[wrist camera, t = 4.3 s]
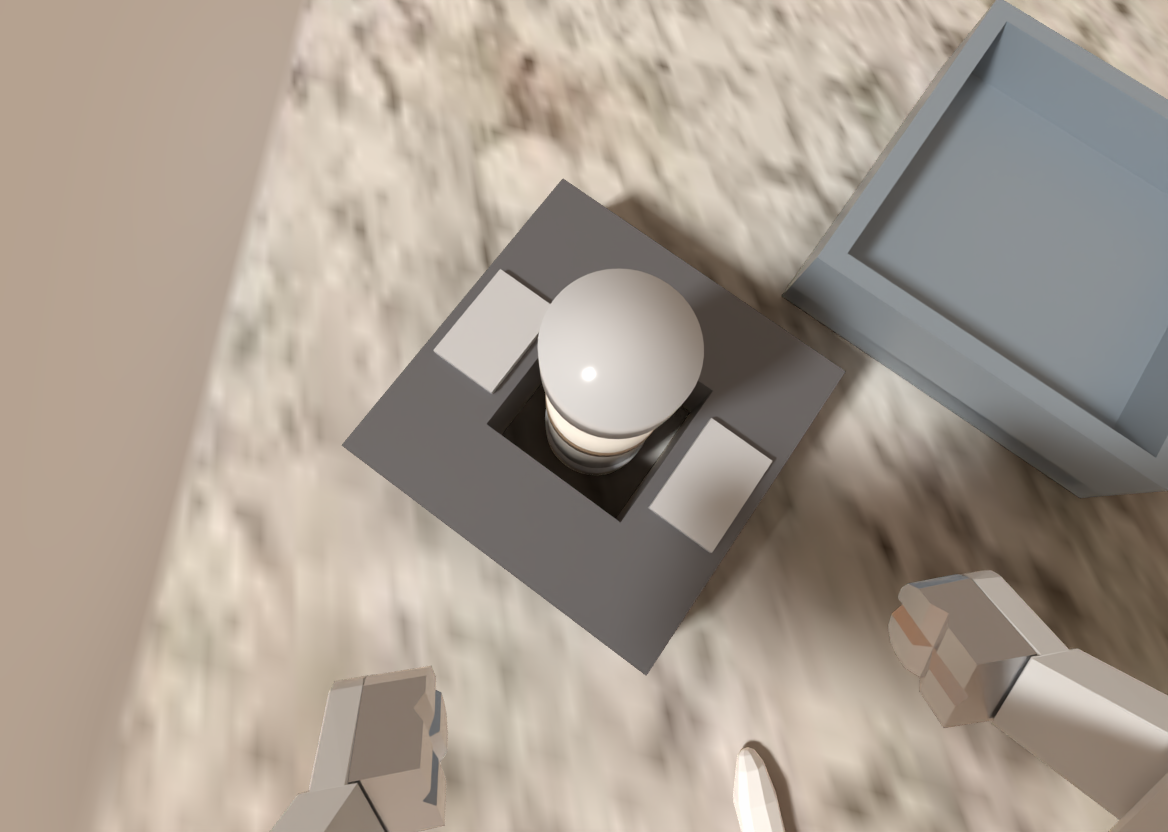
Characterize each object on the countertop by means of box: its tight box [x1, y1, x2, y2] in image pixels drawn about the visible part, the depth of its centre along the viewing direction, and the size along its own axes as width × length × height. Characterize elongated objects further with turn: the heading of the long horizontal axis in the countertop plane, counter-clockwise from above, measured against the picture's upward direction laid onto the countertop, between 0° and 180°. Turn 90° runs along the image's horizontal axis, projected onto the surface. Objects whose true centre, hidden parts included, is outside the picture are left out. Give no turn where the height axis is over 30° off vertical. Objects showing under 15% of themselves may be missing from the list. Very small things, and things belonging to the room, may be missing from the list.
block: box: [342, 179, 846, 675], centre depth 22 cm, size 12×12×4 cm
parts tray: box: [782, 0, 1168, 498], centre depth 24 cm, size 14×14×4 cm
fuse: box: [538, 268, 704, 475], centre depth 19 cm, size 4×4×10 cm
